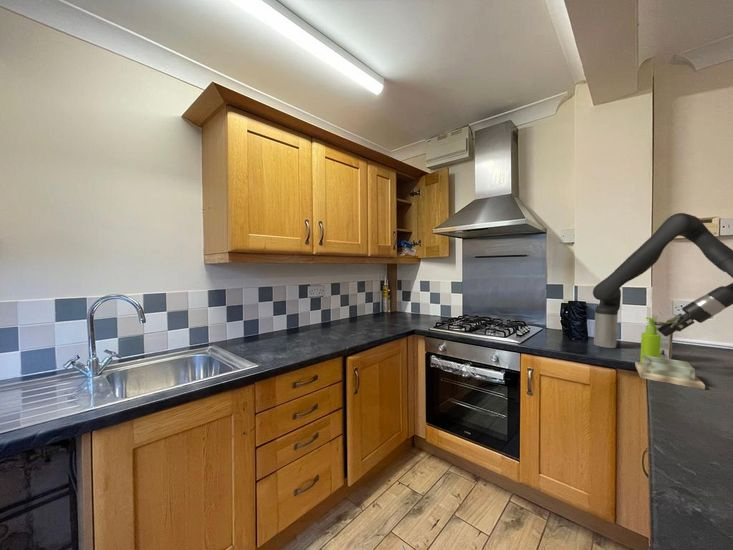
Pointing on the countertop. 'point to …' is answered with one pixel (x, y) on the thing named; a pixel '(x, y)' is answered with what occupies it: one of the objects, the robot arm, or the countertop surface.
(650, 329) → the soap dispenser
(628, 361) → the countertop surface
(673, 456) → the countertop surface
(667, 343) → the coffee box
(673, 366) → the dispenser caddy
